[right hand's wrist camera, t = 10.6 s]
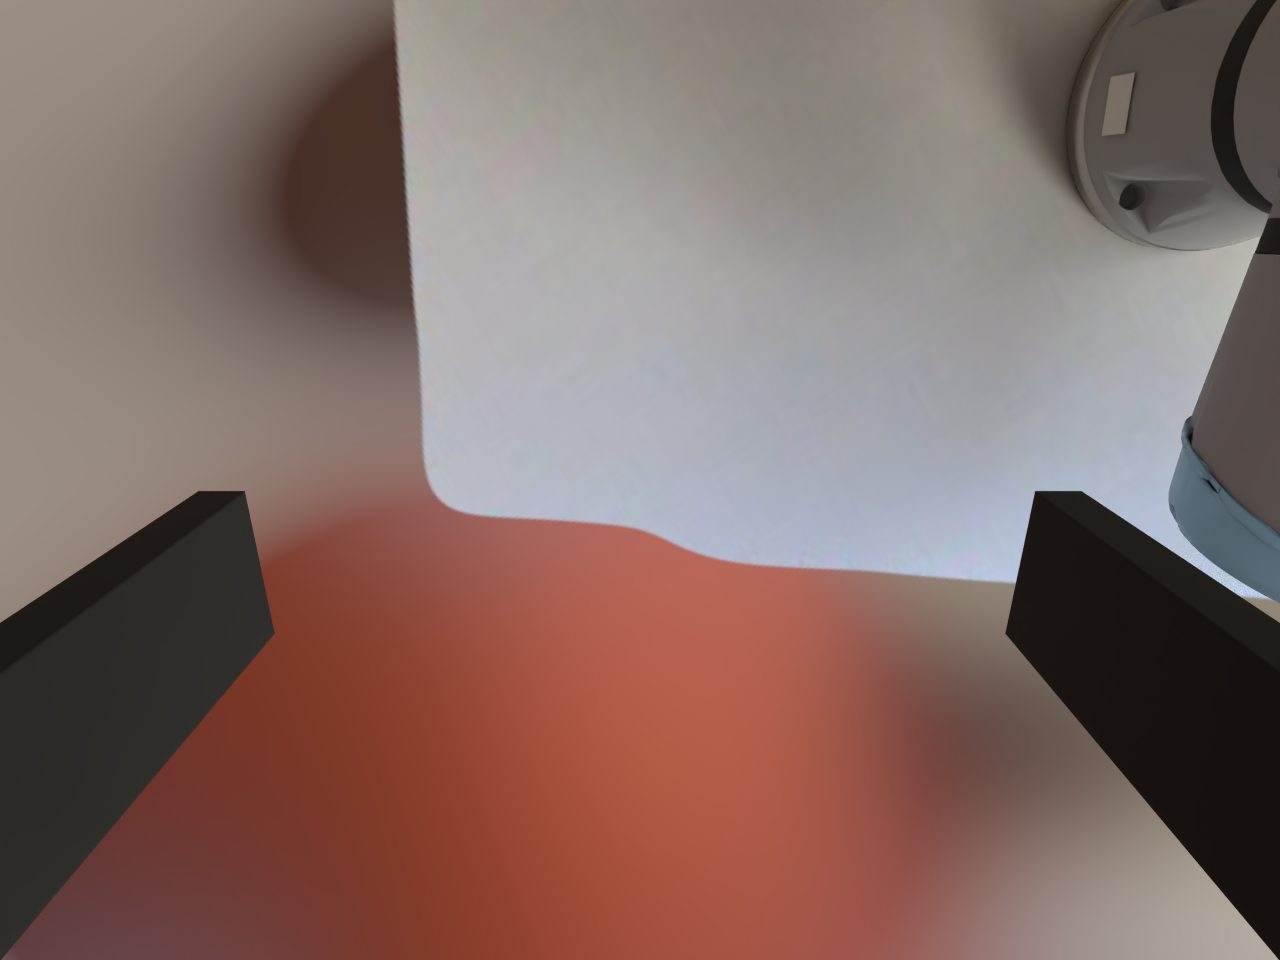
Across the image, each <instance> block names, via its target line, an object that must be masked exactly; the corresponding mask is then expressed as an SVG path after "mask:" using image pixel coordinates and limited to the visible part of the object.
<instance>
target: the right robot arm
mask: <svg viewBox="0 0 1280 960" xmlns="http://www.w3.org/2000/svg"><path fill="white" fill-rule="evenodd" d="M1067 147H1068V156H1069V163H1070V167H1071V171H1072V175H1073V178H1074V181H1075V184H1076V186H1077V189H1078V191H1079V193H1080V195H1081V197H1082V199H1083V201H1084V202H1085V203H1086V205H1087V206H1088V208H1089V209H1090V211H1091V212H1092V213H1093V214H1094V215H1095V217H1096V218H1097V219H1098V220H1099V221H1100V222H1101V223H1102V224H1104V225H1105V226H1106V227H1107V228H1108V229H1110V230H1111V231H1113V232H1114V233H1116V234H1117V235H1119V236H1121V237H1123V238H1125V239H1127V240H1129V241H1132V242H1134V243H1137V244H1140V245H1144V246H1148V247H1153V248H1161V249H1170V250H1183V251H1197V250H1208V249H1214V248H1220V247H1224V246H1229V245H1233V244H1237V243H1241V242H1244V241H1247V240H1250V239H1253V238H1256V237H1259V236H1261V238H1260V241H1259V244H1258V246H1257V249H1256V251H1255V253H1254V255H1253V258H1252V260H1251V263H1250V265H1249V268H1248V271H1247V273H1246V276H1245V278H1244V281H1243V284H1242V286H1241V289H1240V291H1239V294H1238V297H1237V299H1236V302H1235V305H1234V307H1233V310H1232V312H1231V315H1230V318H1229V320H1228V323H1227V325H1226V328H1225V331H1224V333H1223V336H1222V338H1221V341H1220V344H1219V346H1218V349H1217V352H1216V354H1215V357H1214V359H1213V362H1212V365H1211V367H1210V370H1209V372H1208V375H1207V378H1206V380H1205V383H1204V385H1203V388H1202V391H1201V393H1200V396H1199V399H1198V401H1197V404H1196V406H1195V409H1194V412H1193V414H1192V416H1190V417H1189V418H1188V419H1186V421H1185V424H1184V426H1183V429H1182V436H1181V440H1182V445H1183V447H1182V450H1181V453H1180V456H1179V459H1178V463H1177V466H1176V469H1175V472H1174V476H1173V479H1172V482H1171V485H1170V489H1169V507H1170V511H1171V513H1172V515H1173V517H1174V519H1175V520H1176V522H1177V523H1178V527H1179V529H1180V531H1181V532H1182V534H1183V535H1184V536H1185V537H1186V539H1187V540H1188V541H1189V542H1190V543H1191V544H1192V545H1193V546H1194V547H1195V548H1196V549H1197V550H1198V551H1199V552H1200V553H1202V554H1203V555H1204V556H1205V557H1206V558H1207V559H1209V560H1210V561H1211V562H1212V563H1214V564H1215V565H1216V566H1218V567H1219V568H1221V569H1222V570H1223V571H1225V572H1226V573H1228V574H1229V575H1231V576H1232V577H1234V578H1236V579H1237V580H1239V581H1240V582H1242V583H1244V584H1245V585H1247V586H1249V587H1251V588H1252V589H1254V590H1256V591H1258V592H1259V593H1261V594H1263V595H1265V596H1267V597H1269V598H1271V599H1273V600H1274V601H1276V602H1278V603H1280V256H1279V255H1280V0H1124V1H1123V2H1122V3H1121V4H1120V5H1119V6H1118V7H1117V8H1116V10H1115V11H1114V12H1113V13H1112V15H1111V16H1110V17H1109V18H1108V20H1107V21H1106V23H1105V24H1104V26H1103V27H1102V29H1101V30H1100V31H1099V33H1098V35H1097V36H1096V38H1095V40H1094V42H1093V43H1092V45H1091V47H1090V49H1089V51H1088V53H1087V55H1086V57H1085V59H1084V61H1083V64H1082V66H1081V69H1080V71H1079V74H1078V76H1077V80H1076V83H1075V86H1074V89H1073V93H1072V98H1071V102H1070V107H1069V114H1068V122H1067ZM1268 254H1271V255H1268ZM273 635H274V629H273V624H272V619H271V615H270V609H269V605H268V600H267V595H266V591H265V586H264V581H263V576H262V572H261V567H260V562H259V557H258V553H257V548H256V543H255V538H254V533H253V529H252V524H251V519H250V514H249V510H248V505H247V500H246V495H245V491H198V492H197V493H195V494H194V495H192V496H191V497H189V498H188V499H186V500H185V501H183V502H182V503H180V504H179V505H177V506H176V507H174V508H172V509H171V510H169V511H168V512H166V513H165V514H163V515H162V516H161V517H159V518H157V519H156V520H154V521H153V522H151V523H150V524H148V525H147V526H146V527H144V528H142V529H141V530H139V531H138V532H136V533H135V534H133V535H132V536H130V537H129V538H127V539H126V540H124V541H123V542H121V543H120V544H118V545H117V546H115V547H114V548H112V549H111V550H109V551H108V552H106V553H105V554H103V555H102V556H100V557H99V558H97V559H96V560H94V561H93V562H91V563H90V564H88V565H87V566H85V567H84V568H82V569H81V570H79V571H78V572H76V573H75V574H73V575H72V576H70V577H69V578H67V579H66V580H64V581H63V582H61V583H60V584H58V585H57V586H55V587H54V588H52V589H51V590H49V591H48V592H46V593H45V594H43V595H42V596H40V597H39V598H37V599H36V600H34V601H33V602H31V603H30V604H28V605H27V606H25V607H24V608H22V609H21V610H19V611H18V612H16V613H15V614H13V615H12V616H10V617H8V618H7V619H5V620H4V621H3V622H1V623H0V960H1V959H2V958H3V957H4V956H5V954H6V953H7V952H8V951H9V950H10V948H11V947H12V946H13V945H14V944H15V943H16V941H17V940H18V939H19V938H20V937H21V935H22V934H23V933H24V932H25V931H26V929H27V928H28V927H29V926H30V925H31V923H32V922H33V921H34V920H35V919H36V917H37V916H38V915H39V914H40V913H41V911H42V910H43V909H44V908H45V907H46V906H47V904H48V903H49V902H50V901H51V900H52V898H53V897H54V896H55V895H56V894H57V892H58V891H59V890H60V889H61V888H62V886H63V885H64V884H65V883H66V882H67V880H68V879H69V878H70V877H71V876H72V874H73V873H74V872H75V871H76V870H77V869H78V867H79V866H80V865H81V864H82V863H83V861H84V860H85V859H86V858H87V857H88V855H89V854H90V853H91V852H92V851H93V849H94V848H95V847H96V846H97V845H98V844H99V842H100V841H101V840H102V839H103V837H104V836H105V835H106V834H107V833H108V832H109V830H110V829H111V828H112V827H113V826H114V824H115V823H116V822H117V821H118V820H119V818H120V817H121V816H122V815H123V814H124V812H125V811H126V810H127V809H128V808H129V807H130V805H131V804H132V803H133V802H134V801H135V799H136V798H137V797H138V796H139V795H140V793H141V792H142V791H143V790H144V789H145V787H146V786H147V785H148V784H149V783H150V782H151V780H152V779H153V778H154V777H155V776H156V774H157V773H158V772H159V771H160V770H161V768H162V767H163V766H164V765H165V764H166V762H167V761H168V760H169V759H170V758H171V756H172V755H173V754H174V753H175V752H176V751H177V749H178V748H179V747H180V746H181V745H182V743H183V742H184V741H185V740H186V738H187V737H188V736H189V735H190V734H191V733H192V731H193V730H194V729H195V728H196V727H197V725H198V724H199V723H200V722H201V721H202V719H203V718H204V717H205V716H206V715H207V714H208V712H209V711H210V710H211V709H212V707H213V706H214V705H215V704H216V703H217V702H218V700H219V699H220V698H221V697H222V696H223V694H224V693H225V692H226V691H227V690H228V689H229V687H230V686H231V685H232V684H233V683H234V681H235V680H236V679H237V678H238V677H239V675H240V674H241V673H242V672H243V671H244V669H245V668H246V667H247V666H248V665H249V663H250V662H251V661H252V660H253V659H254V657H255V656H256V655H257V654H258V653H259V652H260V650H261V649H262V648H263V647H264V646H265V644H266V643H267V642H268V641H269V640H270V638H271V637H272V636H273ZM1006 635H1007V636H1008V637H1009V638H1010V640H1011V641H1012V642H1013V643H1014V644H1015V645H1016V647H1017V648H1018V649H1019V650H1020V652H1021V653H1022V654H1023V655H1024V656H1025V657H1026V659H1027V660H1028V661H1029V662H1030V663H1031V665H1032V666H1033V667H1034V668H1035V669H1036V671H1037V672H1038V673H1039V674H1040V675H1041V677H1042V678H1043V679H1044V680H1045V681H1046V683H1047V684H1048V685H1049V686H1050V687H1051V688H1052V690H1053V691H1054V692H1055V693H1056V694H1057V696H1058V697H1059V698H1060V699H1061V700H1062V702H1063V703H1064V704H1065V705H1066V706H1067V708H1068V709H1069V710H1070V711H1071V712H1072V714H1073V715H1074V716H1075V717H1076V718H1077V719H1078V721H1079V722H1080V723H1081V724H1082V725H1083V727H1084V728H1085V729H1086V730H1087V731H1088V733H1089V734H1090V735H1091V736H1092V737H1093V739H1094V740H1095V741H1096V742H1097V743H1098V745H1099V746H1100V747H1101V748H1102V749H1103V751H1104V752H1105V753H1106V754H1107V755H1108V756H1109V758H1110V759H1111V760H1112V761H1113V762H1114V764H1115V765H1116V766H1117V767H1118V768H1119V770H1120V771H1121V772H1122V773H1123V774H1124V776H1125V777H1126V778H1127V779H1128V780H1129V781H1130V783H1131V784H1132V785H1133V786H1134V787H1135V789H1136V790H1137V791H1138V792H1139V793H1140V795H1141V796H1142V797H1143V798H1144V799H1145V801H1146V802H1147V803H1148V804H1149V805H1150V807H1151V808H1152V809H1153V810H1154V811H1155V812H1156V814H1157V815H1158V816H1159V817H1160V818H1161V820H1162V821H1163V822H1164V823H1165V824H1166V826H1167V827H1168V828H1169V829H1170V830H1171V832H1172V833H1173V834H1174V835H1175V836H1176V838H1177V839H1178V840H1179V841H1180V842H1181V844H1182V845H1183V846H1184V847H1185V848H1186V849H1187V851H1188V852H1189V853H1190V854H1191V855H1192V857H1193V858H1194V859H1195V860H1196V861H1197V862H1198V864H1199V865H1200V866H1201V867H1202V868H1203V870H1204V871H1205V872H1206V873H1207V874H1208V876H1209V877H1210V878H1211V879H1212V880H1213V882H1214V883H1215V884H1216V885H1217V886H1218V888H1219V889H1220V890H1221V891H1222V892H1223V894H1224V895H1225V896H1226V897H1227V898H1228V900H1229V901H1230V902H1231V903H1232V904H1233V905H1234V907H1235V908H1236V909H1237V910H1238V911H1239V913H1240V914H1241V915H1242V916H1243V917H1244V919H1245V920H1246V921H1247V922H1248V923H1249V925H1250V926H1251V927H1252V928H1253V929H1254V931H1255V932H1256V933H1257V934H1258V935H1259V937H1260V938H1261V939H1262V940H1263V941H1264V942H1265V944H1266V945H1267V946H1268V947H1269V948H1270V950H1271V951H1272V952H1273V953H1274V954H1275V956H1276V957H1277V958H1278V959H1279V960H1280V623H1279V622H1278V621H1276V620H1275V619H1273V618H1272V617H1270V616H1268V615H1267V614H1265V613H1264V612H1262V611H1261V610H1259V609H1258V608H1256V607H1255V606H1253V605H1252V604H1250V603H1249V602H1247V601H1246V600H1244V599H1243V598H1241V597H1240V596H1238V595H1237V594H1235V593H1234V592H1232V591H1231V590H1229V589H1228V588H1226V587H1225V586H1223V585H1222V584H1220V583H1219V582H1217V581H1216V580H1214V579H1213V578H1211V577H1210V576H1208V575H1207V574H1205V573H1204V572H1202V571H1201V570H1199V569H1198V568H1196V567H1195V566H1193V565H1192V564H1190V563H1189V562H1187V561H1186V560H1184V559H1183V558H1181V557H1180V556H1178V555H1177V554H1175V553H1174V552H1172V551H1171V550H1169V549H1168V548H1166V547H1165V546H1163V545H1162V544H1160V543H1159V542H1157V541H1156V540H1154V539H1153V538H1151V537H1150V536H1148V535H1147V534H1145V533H1144V532H1142V531H1141V530H1139V529H1138V528H1136V527H1135V526H1133V525H1132V524H1130V523H1129V522H1127V521H1126V520H1124V519H1123V518H1121V517H1120V516H1118V515H1117V514H1115V513H1114V512H1112V511H1111V510H1109V509H1108V508H1106V507H1104V506H1103V505H1101V504H1100V503H1098V502H1097V501H1095V500H1094V499H1092V498H1091V497H1089V496H1088V495H1086V494H1085V493H1083V492H1082V491H1035V495H1034V500H1033V505H1032V509H1031V514H1030V519H1029V524H1028V528H1027V533H1026V538H1025V543H1024V548H1023V552H1022V557H1021V562H1020V567H1019V571H1018V576H1017V581H1016V586H1015V591H1014V595H1013V600H1012V605H1011V610H1010V614H1009V619H1008V624H1007V629H1006Z"/></svg>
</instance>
